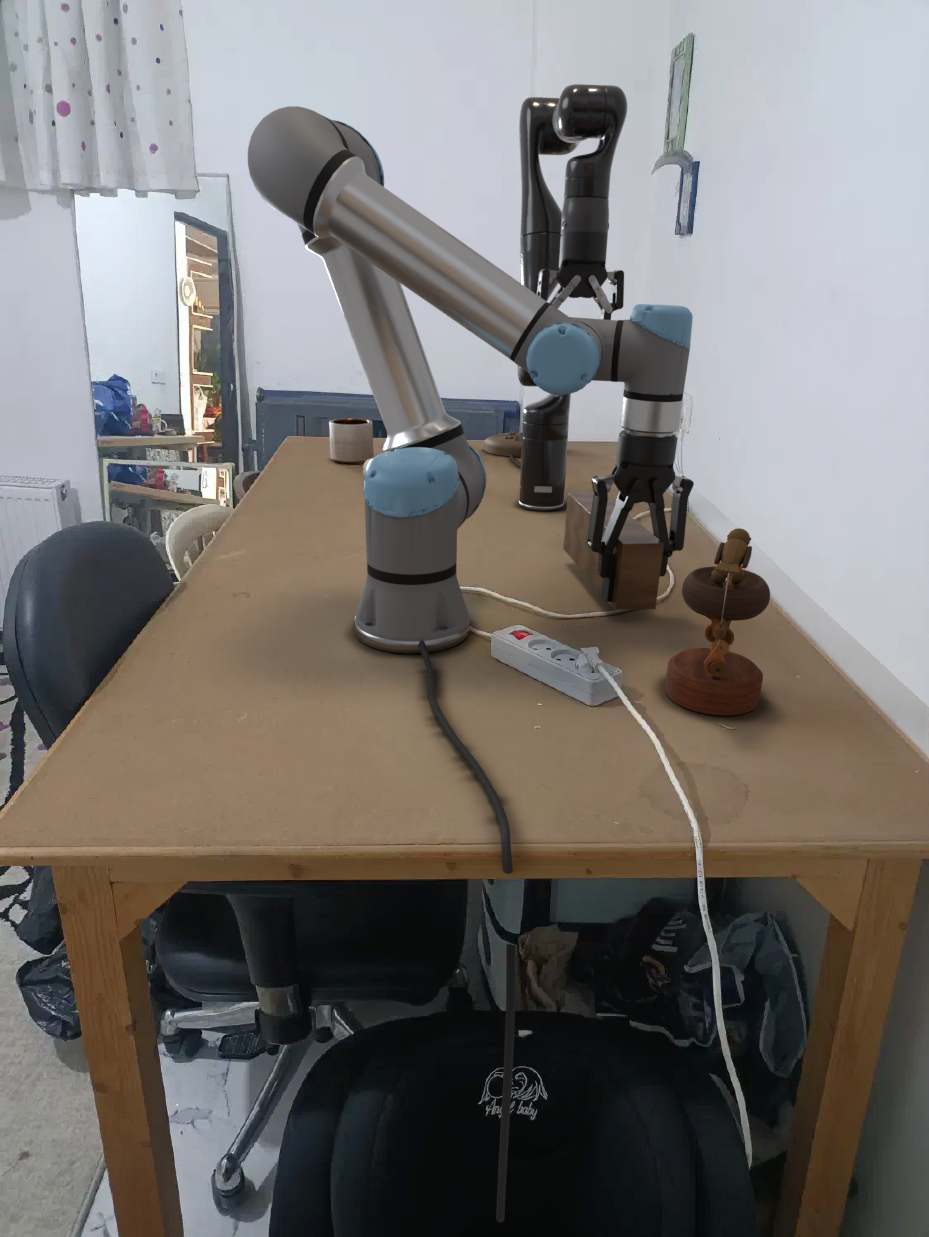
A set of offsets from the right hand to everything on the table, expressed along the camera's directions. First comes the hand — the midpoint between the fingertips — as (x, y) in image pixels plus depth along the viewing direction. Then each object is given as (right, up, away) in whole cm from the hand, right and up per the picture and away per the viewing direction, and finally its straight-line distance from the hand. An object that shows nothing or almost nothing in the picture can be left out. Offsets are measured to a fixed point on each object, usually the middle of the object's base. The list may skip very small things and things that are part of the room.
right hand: (577, 337), depth 141 cm
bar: (+2, -41, -13) cm, 43 cm away
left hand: (+4, -44, -23) cm, 50 cm away
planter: (-47, -7, +73) cm, 87 cm away
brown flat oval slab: (-3, -4, +81) cm, 82 cm away
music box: (+10, -56, -43) cm, 71 cm away
